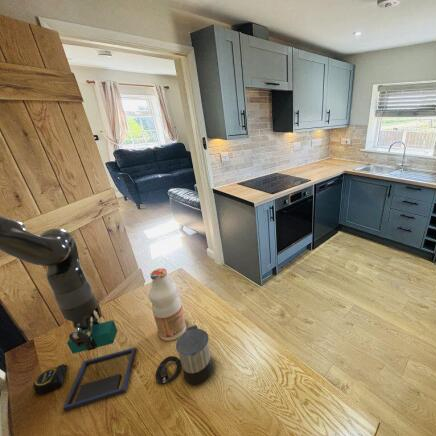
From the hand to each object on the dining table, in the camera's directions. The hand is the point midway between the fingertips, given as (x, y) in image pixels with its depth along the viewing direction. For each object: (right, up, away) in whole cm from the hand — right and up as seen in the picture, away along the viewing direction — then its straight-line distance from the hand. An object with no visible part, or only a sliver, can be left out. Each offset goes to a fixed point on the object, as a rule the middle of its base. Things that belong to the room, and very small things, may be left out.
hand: (95, 340), depth 72 cm
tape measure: (-14, -14, +1) cm, 19 cm away
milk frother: (+26, -13, +4) cm, 29 cm away
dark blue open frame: (+1, -13, +2) cm, 14 cm away
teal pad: (0, 0, 0) cm, 0 cm away
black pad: (+2, -15, -1) cm, 15 cm away
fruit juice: (+15, -6, +19) cm, 25 cm away
